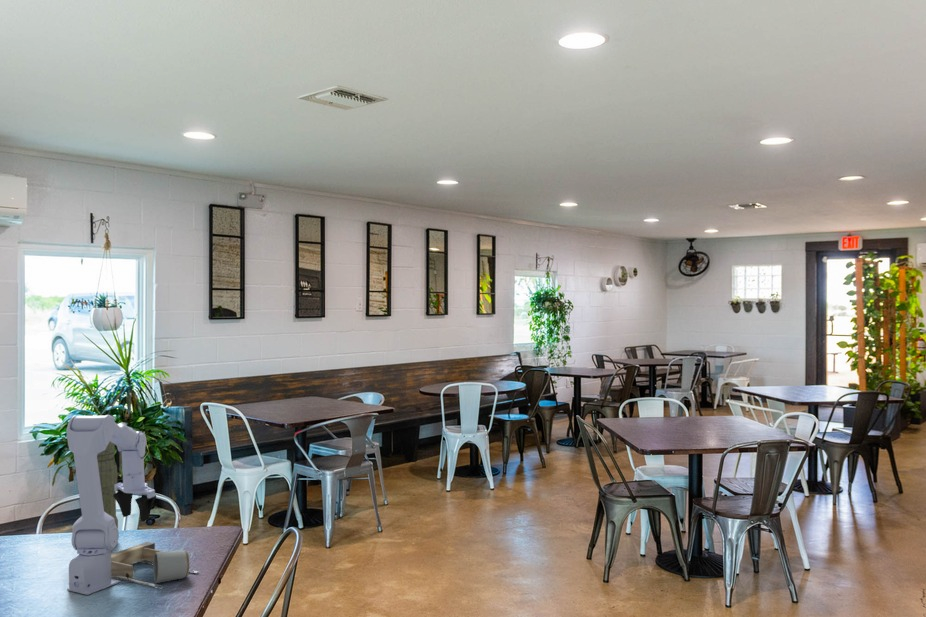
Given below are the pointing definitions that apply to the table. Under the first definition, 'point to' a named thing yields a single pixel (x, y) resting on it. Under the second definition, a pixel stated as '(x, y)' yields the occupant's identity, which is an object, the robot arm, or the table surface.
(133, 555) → the tan wooden bracket
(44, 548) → the table surface
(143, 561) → the track
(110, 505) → the thermos
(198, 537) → the table surface
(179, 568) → the ceramic mug
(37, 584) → the table surface
